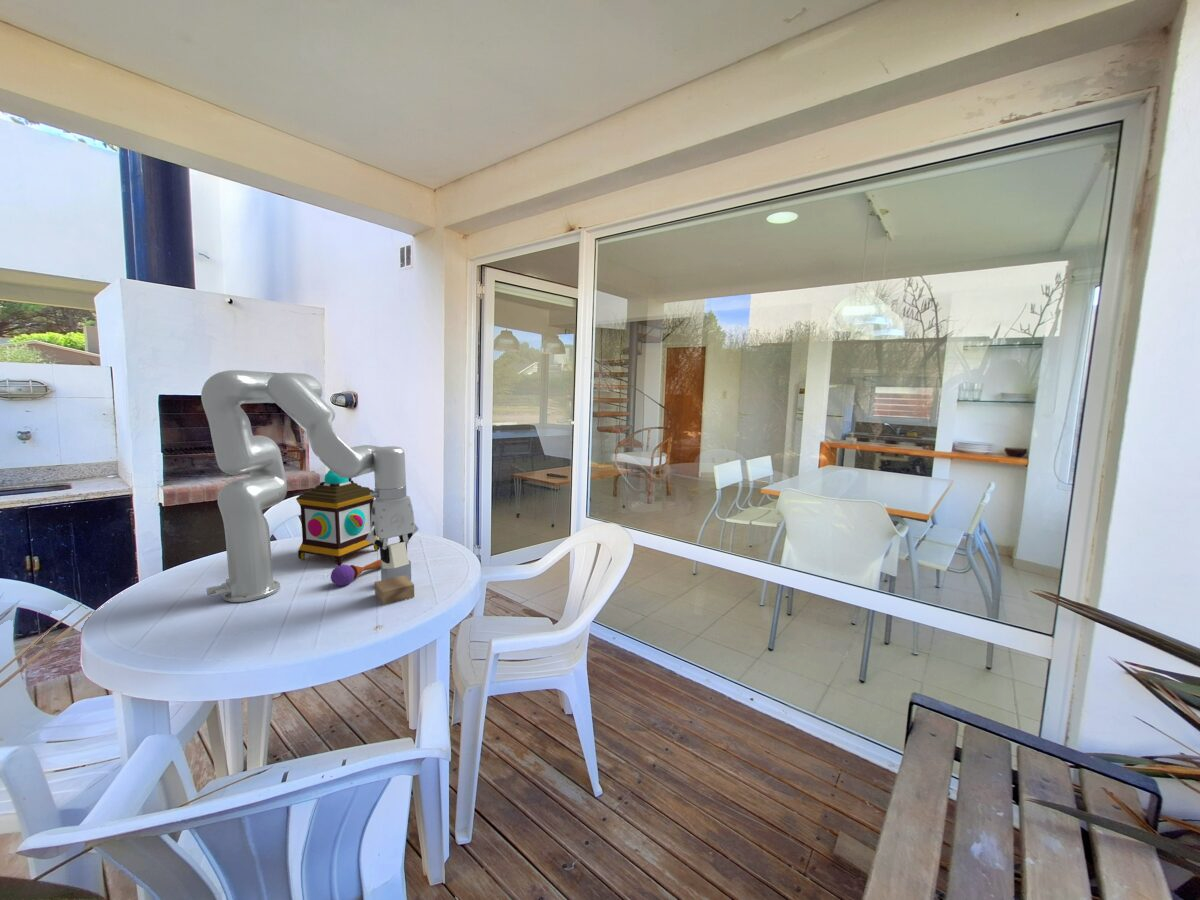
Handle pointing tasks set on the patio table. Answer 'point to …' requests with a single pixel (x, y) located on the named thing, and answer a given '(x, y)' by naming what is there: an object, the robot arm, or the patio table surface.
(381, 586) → the walnut block
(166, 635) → the patio table surface
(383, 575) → the slate grey brick
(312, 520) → the decorative lantern
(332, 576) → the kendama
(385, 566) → the cream brick
